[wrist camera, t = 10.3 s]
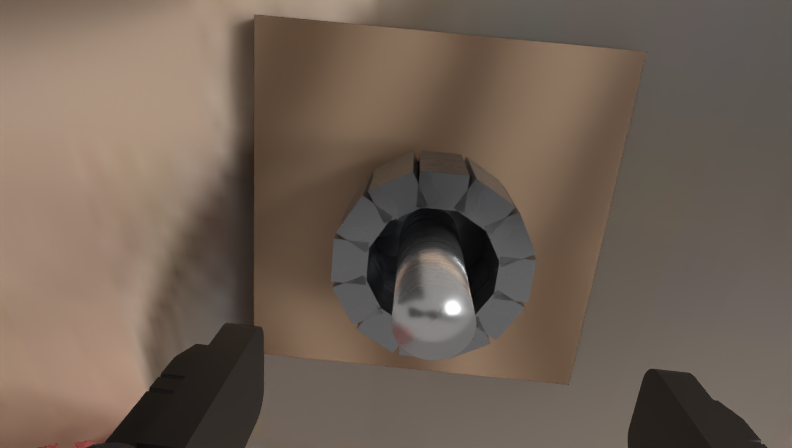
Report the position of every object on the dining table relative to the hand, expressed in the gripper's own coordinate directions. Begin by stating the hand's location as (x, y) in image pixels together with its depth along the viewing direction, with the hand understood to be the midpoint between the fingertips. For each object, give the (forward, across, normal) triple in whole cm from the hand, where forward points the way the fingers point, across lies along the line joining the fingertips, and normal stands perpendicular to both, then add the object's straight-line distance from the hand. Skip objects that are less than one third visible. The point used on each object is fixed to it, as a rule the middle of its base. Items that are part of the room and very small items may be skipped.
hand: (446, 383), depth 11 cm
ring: (+9, 0, 0) cm, 9 cm away
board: (+12, 0, 0) cm, 12 cm away
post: (+10, 0, 0) cm, 10 cm away
